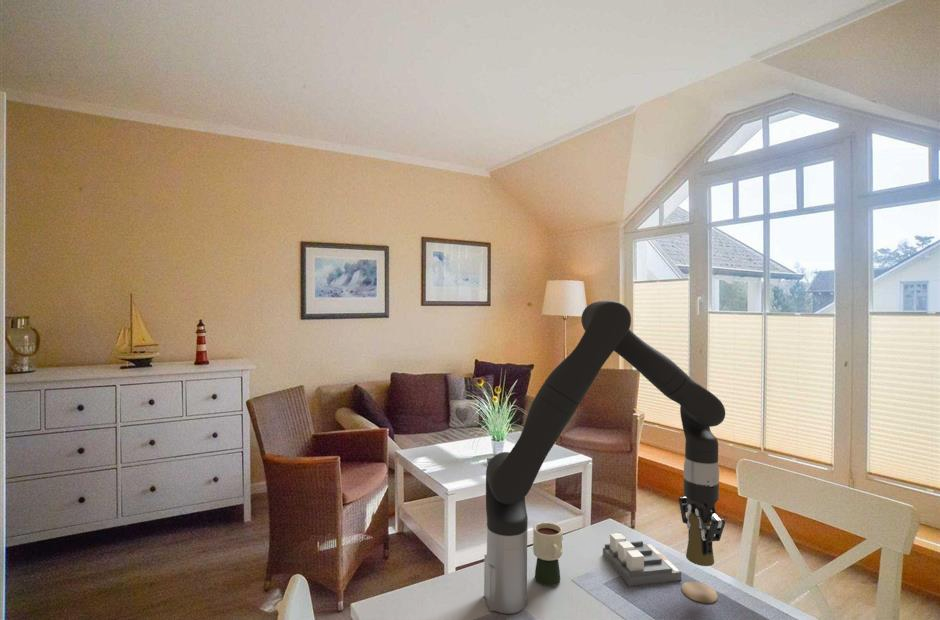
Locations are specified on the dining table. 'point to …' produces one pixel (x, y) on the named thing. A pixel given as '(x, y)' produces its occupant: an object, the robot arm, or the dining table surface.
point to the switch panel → (654, 566)
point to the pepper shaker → (697, 544)
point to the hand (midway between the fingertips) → (699, 549)
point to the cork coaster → (699, 592)
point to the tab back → (616, 541)
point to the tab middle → (624, 550)
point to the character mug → (547, 552)
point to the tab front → (635, 560)
